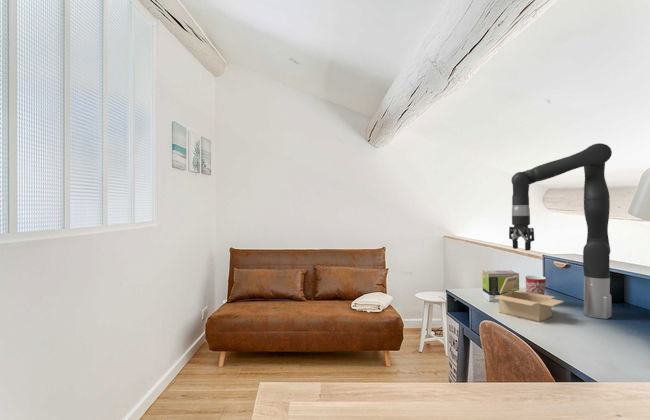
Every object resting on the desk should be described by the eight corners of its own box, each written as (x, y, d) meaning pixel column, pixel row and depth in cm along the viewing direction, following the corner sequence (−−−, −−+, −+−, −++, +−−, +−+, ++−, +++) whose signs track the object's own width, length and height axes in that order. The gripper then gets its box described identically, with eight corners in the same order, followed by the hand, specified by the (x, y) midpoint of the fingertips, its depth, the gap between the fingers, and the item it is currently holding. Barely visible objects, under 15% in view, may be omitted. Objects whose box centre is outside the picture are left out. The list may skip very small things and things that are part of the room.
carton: (568, 317, 162) (568, 298, 162) (546, 327, 149) (546, 307, 148) (517, 306, 179) (517, 289, 179) (493, 314, 166) (493, 296, 166)
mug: (549, 307, 177) (549, 279, 177) (528, 306, 180) (528, 278, 179) (540, 300, 190) (540, 274, 190) (520, 299, 192) (520, 273, 192)
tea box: (511, 297, 196) (511, 269, 196) (519, 302, 186) (519, 273, 186) (482, 297, 198) (482, 269, 198) (488, 302, 188) (488, 272, 188)
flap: (512, 290, 176) (518, 275, 173) (500, 293, 169) (507, 278, 167) (510, 289, 176) (517, 275, 173) (499, 292, 170) (506, 277, 167)
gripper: (539, 214, 168) (539, 250, 168) (517, 214, 182) (518, 247, 182) (524, 215, 167) (524, 251, 167) (503, 214, 181) (504, 248, 181)
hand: (521, 249), depth 175 cm, fingers open, 8 cm apart
